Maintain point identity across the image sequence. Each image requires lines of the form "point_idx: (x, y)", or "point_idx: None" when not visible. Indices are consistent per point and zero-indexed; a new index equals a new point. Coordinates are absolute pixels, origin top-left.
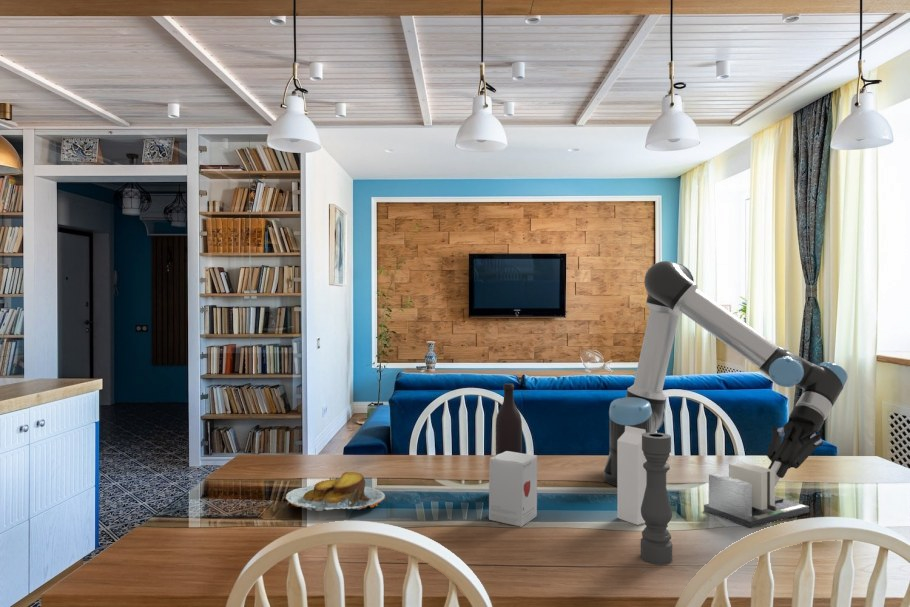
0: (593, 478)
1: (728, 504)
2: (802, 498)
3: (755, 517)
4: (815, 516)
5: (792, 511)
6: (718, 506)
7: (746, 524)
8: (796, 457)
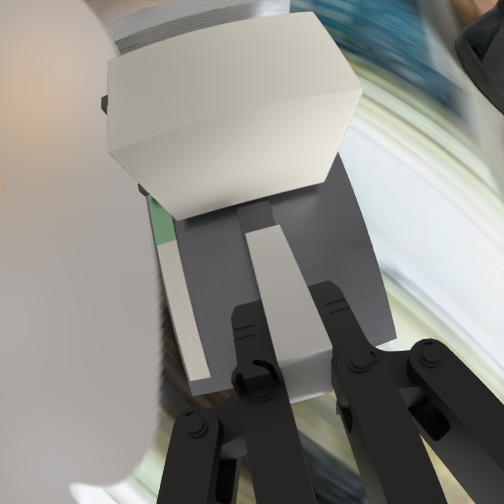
0: None
1: None
2: (337, 471)
3: None
4: (161, 378)
5: (165, 292)
6: None
7: None
8: (175, 471)
